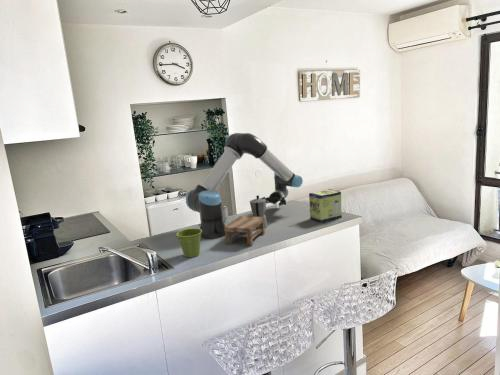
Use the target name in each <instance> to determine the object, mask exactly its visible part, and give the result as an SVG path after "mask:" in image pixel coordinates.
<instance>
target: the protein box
mask: <svg viewBox="0 0 500 375" xmlns="http://www.w3.org/2000/svg"><path fill="white" fill-rule="evenodd" d="M308 198H309V216H310V217H309V218H310V220H313V221H315V222H318V223H326V222H329V221H334V220H337V219H341V218H342V217H343V216H342V215H343V214H342V213H343V212H342V211H343V210H342V191H339V190H334V189H330V188H328V189H324V190H318V191H315V192H314V191H313V192H310V193H308Z"/></svg>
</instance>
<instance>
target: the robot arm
mask: <svg viewBox="0 0 500 375" xmlns="http://www.w3.org/2000/svg"><path fill="white" fill-rule="evenodd" d="M223 151H224V152H223V153H222V154H221V155H220V157H219V159H218V160H217V161H216V163H215V164H214V165H213V167H212V168H211V170H210V172H209V173H208V174H207V176H206V177H205V179H204V180H203V181H202V183H199V184H198V183H197V185H196V187H195V188H194V189H191V190H189V192H188V193H187V194H186V196H185V204H186V206H187V207H188V208H189V209H190V210H192V212H196V213H200V221H201V222H200V226H199V229H201V230H202V232H201V237H200V238H202V239H217V238H222V237H224V236H225V231H224V227H225V226H226V223H225V221H223V216H222V207H223V206H222V196H221V194H220V192H219V191H217V189H218V187H219V186H220V185H221V183H222V182H223V180H224V179H225V178H226V176H227V174H228V173H229V171H230V170H231V168H232V167H233V166H234V164H235V162H236V161H237V160H241V158H242V157H243V156H244V154H248V155H251V156H252V157H253V158H255V159H259V160H260V161H261V162H262V163H263V164H264V165H265V166H266V167H267V168H269V169H270V170H271V171H272V172H273V178H274V191H273V192H271V193H270V194H269V196H268V197H265V196H263V197H261V198H260V197H259V199H265V200H266V204H272V205H275V208H276V209H278V208H280V206H283V205H284V206H286V205H287V201H286V198H287V197H288V195H289V189H288V188H287V187H291V188H300V187H301V186H302V184H303V182H304V181H303V177H302V176H300V175H298V174H295V173H294V172H293V171H292V170H291V168H290V169H289V167H287V165H286V164H285V163H284V162H282V161H281V160H280V159H279V158H278V157H277V156H276V155H275V154H274V153H273V152H271V151H270V150H269V149H268V146H267V144H266V143H264V142H263V141H262V140H261V139H260V138H258V137H257V136H256V135H254V134H251V133H249V132H245V133H242V132H241V133H240V132H234V133H231V134H230V135H228V136H227V138H226V139H225V145H224V147H223Z"/></svg>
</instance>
